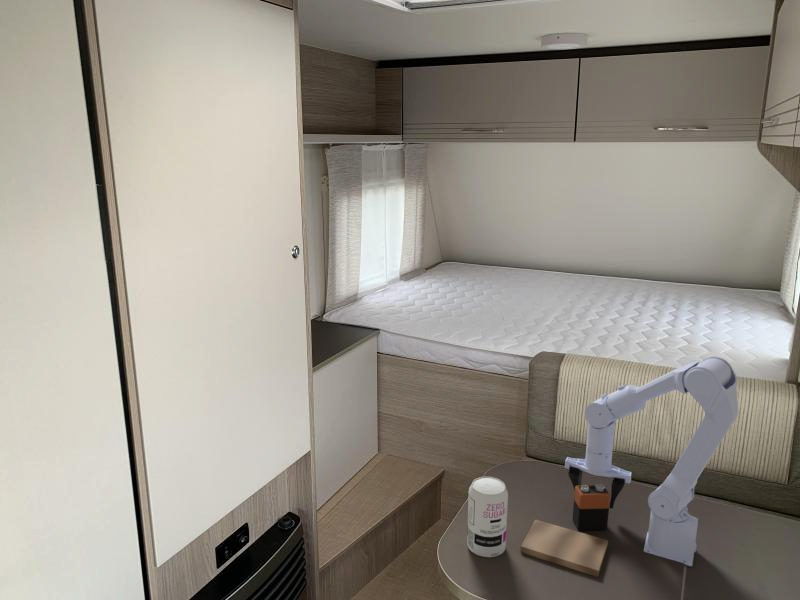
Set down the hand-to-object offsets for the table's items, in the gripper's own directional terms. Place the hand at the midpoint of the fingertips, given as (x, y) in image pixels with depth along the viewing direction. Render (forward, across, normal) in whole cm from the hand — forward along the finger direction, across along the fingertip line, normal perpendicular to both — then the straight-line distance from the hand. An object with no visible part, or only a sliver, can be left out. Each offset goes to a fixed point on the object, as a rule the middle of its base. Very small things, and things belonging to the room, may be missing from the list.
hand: (594, 501), depth 138 cm
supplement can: (+4, +18, +24) cm, 30 cm away
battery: (+4, 0, +5) cm, 6 cm away
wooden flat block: (+3, +3, +16) cm, 17 cm away
